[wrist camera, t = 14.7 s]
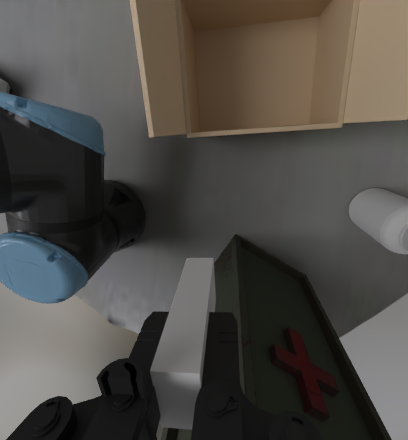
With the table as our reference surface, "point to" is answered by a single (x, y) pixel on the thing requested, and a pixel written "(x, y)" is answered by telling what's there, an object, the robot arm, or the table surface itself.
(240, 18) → the carton
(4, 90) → the stamp
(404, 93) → the flap
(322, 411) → the first aid box
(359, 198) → the pill bottle
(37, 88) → the table surface
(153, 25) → the flap
